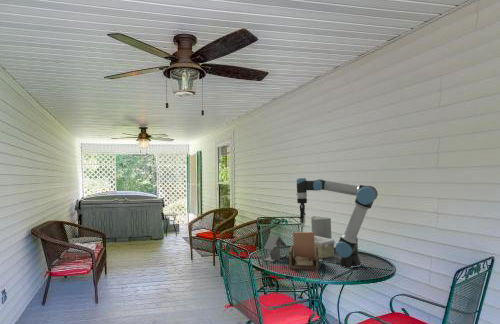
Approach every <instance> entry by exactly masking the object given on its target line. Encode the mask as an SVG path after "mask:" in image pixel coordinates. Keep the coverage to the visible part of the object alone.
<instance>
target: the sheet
mask: <svg viewBox="0 0 500 324" xmlns="http://www.w3.org/2000/svg"><path fill="white" fill-rule="evenodd" d="M292 235H293V236H292V237H293V238H292V239H293V258H294V260H295V258H296V257H310V260H315V259H316V257H315V245H314V232H312V231H307V232H306V231H293V232H292Z"/></svg>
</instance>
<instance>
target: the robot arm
mask: <svg viewBox="0 0 500 324" xmlns="http://www.w3.org/2000/svg"><path fill="white" fill-rule="evenodd" d="M321 190H322V191H328V192H335V193H340V194H345V195H349V196H355V199H354V204H355V206H354V209H353V211H352V214H351V215H350V219H349V221H348V223H347V226H346V229H345V232H344V233H343V234H341V236H340V237H339V240H338V242H337V243H336V245H335V246H334V250H335V252H336V255H338V256H339V257H340V258H341V259H340V263H339V265H340V266H341V265H342V266H345V267H344V268H346V267H351V266H357V265H360V264H361V259H360V257H359V246H358V245H359V244H358V239H359V238H358V234H359V232H360V229H361V227H362V225H363V222H364V221H365V220H364V219H365V217H366V215H367V212H368V210H370V209H372V206H373V204H374V202H375V200H376V199H377V197H378V191H377V189H376V188H375V186H372V185H364V184H363V185H362V184H358V185H355V184H350V183H349V184H348V183H344V182H343V183H342V182H338V181H337V182H336V181H330V180H323V179H316V180H307V178H305V177H298V178H297V179H296V194H295V195H296V196H297V197H296V200H297V201H296V202H297V204H299V213H300V217H299V220H300V227H301V228H305V224H306V212H305V210H306V204H307V203H308V199H307V197H308V195H307V194H308V192H307V191H315V192H316V191H321ZM361 265H362V264H361ZM342 266H341V267H342Z"/></svg>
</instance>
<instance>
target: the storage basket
mask: <svg viewBox="0 0 500 324" xmlns="http://www.w3.org/2000/svg"><path fill="white" fill-rule="evenodd" d="M314 245H315V258H316V246H318V258H319V259H325V258H330V257H334V256H335V255H334V253H335V239H333V238H332V239H328V238H323V237H319V236H314Z"/></svg>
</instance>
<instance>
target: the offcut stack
mask: <svg viewBox="0 0 500 324" xmlns="http://www.w3.org/2000/svg"><path fill="white" fill-rule="evenodd" d="M295 261H297V262H295V264H294V265H310V266H314V263H313V260H310V257H296V258H295Z"/></svg>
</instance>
